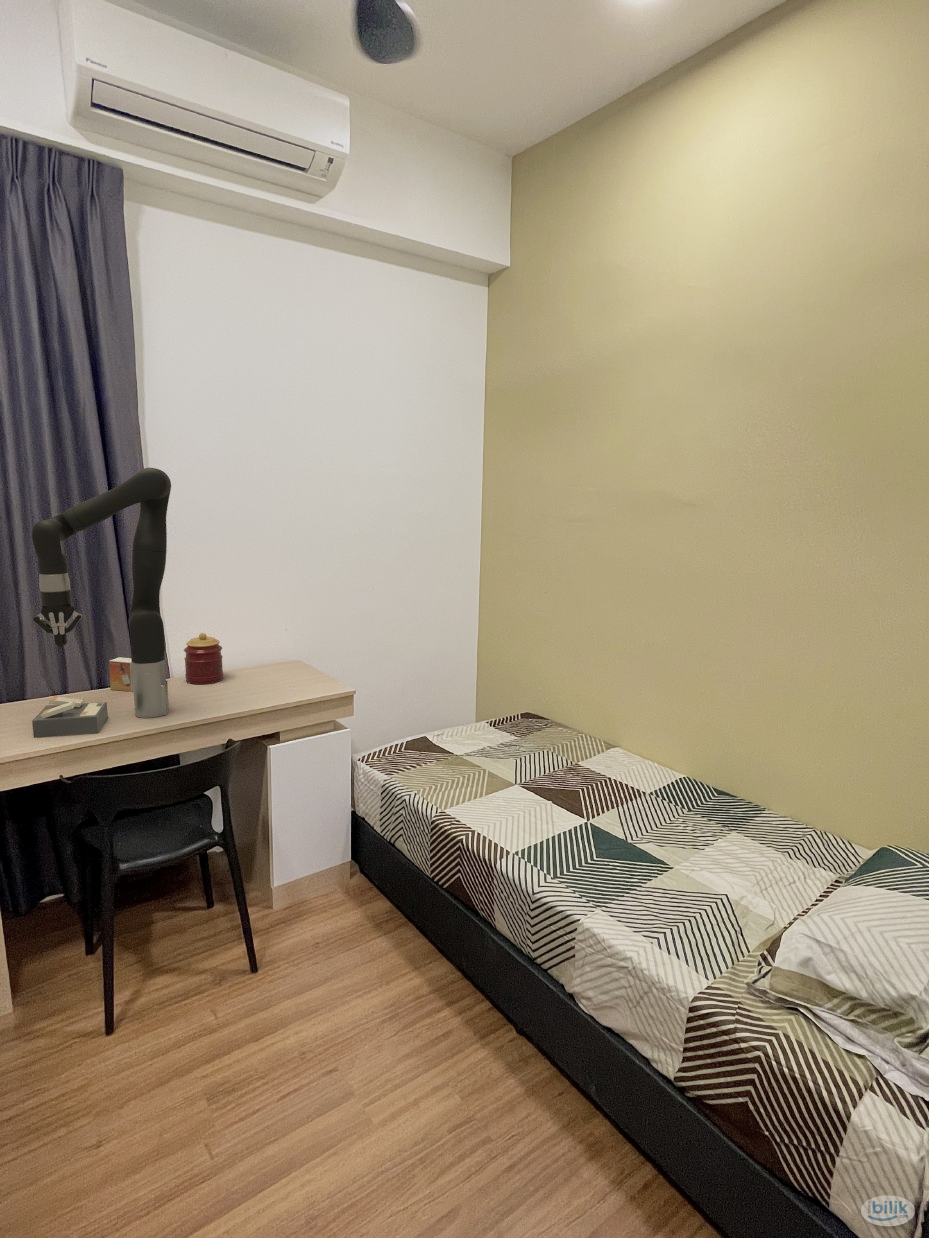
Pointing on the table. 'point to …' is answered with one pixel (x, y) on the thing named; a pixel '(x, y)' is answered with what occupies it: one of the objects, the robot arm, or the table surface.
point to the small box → (121, 674)
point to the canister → (203, 660)
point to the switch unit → (71, 720)
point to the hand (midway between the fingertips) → (61, 646)
